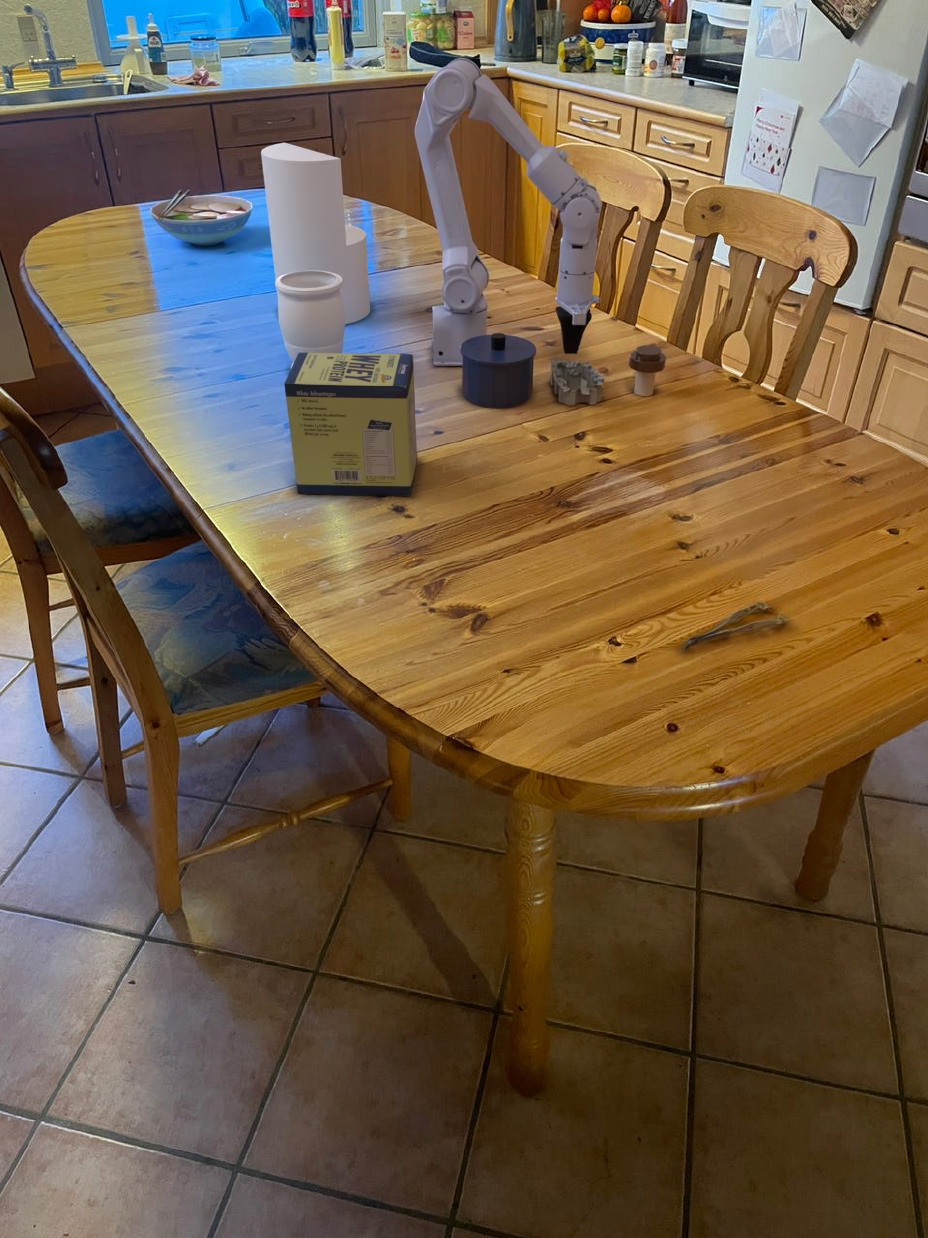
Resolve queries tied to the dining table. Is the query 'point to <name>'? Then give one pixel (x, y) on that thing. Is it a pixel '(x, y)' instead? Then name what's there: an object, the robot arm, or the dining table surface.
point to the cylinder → (314, 222)
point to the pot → (497, 384)
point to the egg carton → (576, 382)
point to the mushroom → (646, 368)
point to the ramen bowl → (202, 217)
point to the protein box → (352, 423)
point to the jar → (311, 312)
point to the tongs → (734, 619)
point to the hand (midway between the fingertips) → (570, 352)
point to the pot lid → (498, 350)
